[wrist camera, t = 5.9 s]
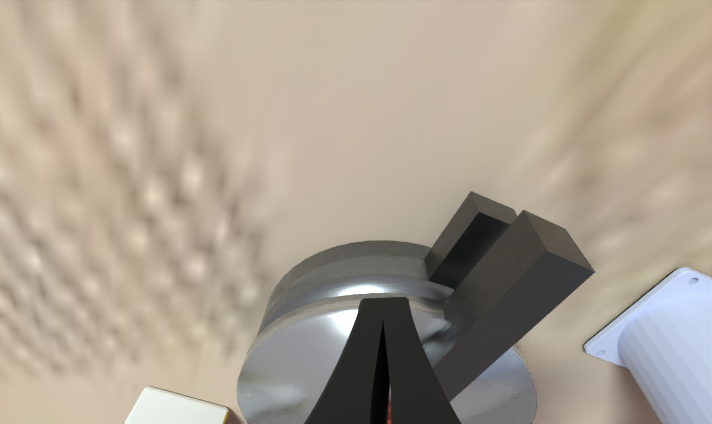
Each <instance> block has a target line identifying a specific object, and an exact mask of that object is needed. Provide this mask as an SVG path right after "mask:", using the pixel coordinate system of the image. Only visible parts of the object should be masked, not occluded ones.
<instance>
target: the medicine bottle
mask: <svg viewBox="0 0 712 424" xmlns="http://www.w3.org/2000/svg"><path fill="white" fill-rule="evenodd" d="M228 413H229V410H228V408H227V407H224V406H220V405H216V404H213V403H209V402H205V401H202V400H198V399H194V398H191V397H187V396H183V395H180V394H176V393H172V392H169V391H165V390H162V389H158V388H154V387H151V386H148V387H145V389H144V390H143V391H142V393H141V395H140V397H139V398H138V400H137V402H136V404H135V405H134V407H133V409H132V411H131V412H130V414H129V416H128V418H127V419H126V421H125V423H124V424H225V422H226V419H227V416H228Z"/></svg>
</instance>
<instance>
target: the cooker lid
mask: <svg viewBox="0 0 712 424" xmlns="http://www.w3.org/2000/svg"><path fill="white" fill-rule="evenodd" d="M593 273H595V271H594V270H593V268H592V267H591V265H590V264H589V262H588V261H587V259H586V258H585V257H584V255H583V254H582V252H581V251H580V249H579V248H578V246H577V245H576V244H575V242H574V241H573V239H572V238H571V236H570V235H569V233H568V232H567V231H566V229H564V228H562V227H560V226H558V225H555V224H553V223H551V222H549V221H547V220H545V219H542V218H540V217H538V216H536V215H534V214H532V213H529V212H527V211H525V210H523V211H522V212H521V213H520V214H519V216H518V217H517V218H516V219H515V220H514V221H513V223H512V224H511V225H510V226H509V227H508V228H507V230H506V231H505V232H504V233H503V234H502V235H501V237H500V238H499V239H498V240H497V241H496V242H495V244H494V245H493V246H492V247H491V248H490V249H489V251H488V252H487V253H486V254H485V255H484V256H483V258H482V259H481V260H480V261H479V262H478V263H477V265H476V266H475V267H474V268H473V269H472V270H471V271H470V273H469V274H468V275H467V276H466V277H465V278H464V280H463V281H462V282H461V283H460V284H459V285H458V287H457V288H456V289H455V290H454V291H453V292H452V294H451V295H450V296H449V297H448V298H447V299H446V301H445V302H442V301H439V300H434V299H430V298H425V297H421V296H414V295H406V294H398V293H361V294H349V295H343V296H337V297H331V298H327V299H323V300H320V301H316V302H312V303H309V304H307V305H304V306H302V307H299V308H297V309H294V310H292V311H290V312H288V313H287V314H285V315H283V316H281V317H280V318H278V319H276V320H275V321H274V322H272V323H271V324H270V325H269V326H267V327H266V328H265V329H264V330H263V331H262V332H261V333H260V334H259V335H258V336H257V338H256V339H255V340H254V342H253V343H252V345H251V347H250V348H249V350H248V353H247V356H246V358H245V361H244V364H243V367H242V370H241V372H240V375H239V378H238V382H237V399H238V404H239V407H240V409H241V412H242V414H243V416H244V418H245V419H246V421H247V423H248V424H304V423H305V421H306V420H307V418H308V416H309V415H310V413H311V411H312V410H313V408H314V406H315V405H316V403H317V401H318V399H319V397H320V396H321V394H322V392H323V390H324V388H325V386H326V384H327V382H328V380H329V378H330V376H331V374H332V372H333V370H334V368H335V366H336V364H337V362H338V360H339V358H340V356H341V353H342V351H343V349H344V346H345V344H346V342H347V340H348V337H349V334H350V332H351V329H352V327H353V324H354V321H355V318H356V315H357V312H358V308H359V304H360V301H361V300H362V299H364V298H387V297H406V298H407V299H409V304H410V309H411V313H412V317H413V320H414V324H415V327H416V330H417V332H418V335H419V338H420V341H421V343H422V346H423V348H424V350H425V353H426V355H427V357H428V360H429V362H430V364H431V366H432V369H433V371H434V373H435V375H436V377H437V379H438V381H439V383H440V385H441V387H442V389H443V391H444V393H445V395H446V397H447V399H448V400H449V402H450V404H451V406H452V408H453V410H454V411H455V413H456V415H457V417H458V418H459V420H460V422H461V423H462V424H532V422H533V420H534V418H535V414H536V408H537V397H536V391H535V388H534V385H533V382H532V379H531V376H530V373H529V370H528V368H527V365H526V362H525V359H524V358H523V356H522V354H521V353H520V351H519V349H518V348H517V346H516V345H515V343H516V342H518V341H519V340H520V339H521V338H522V337H523V336H524V335H525V334H526V333H528V332H529V331H530V330H531V329H532V328H533V327H534V326H535V325H537V324H538V323H539V322H540V321H541V320H542V319H543V318H544V317H545V316H547V315H548V314H549V313H550V312H551V311H552V310H553V309H554V308H556V307H557V306H558V305H559V304H560V303H561V302H562V301H563V300H564V299H566V298H567V297H568V296H569V295H570V294H571V293H572V292H573V291H574V290H576V289H577V288H578V287H579V286H580V285H581V284H582V283H583V282H585V281H586V280H587V279H588V278H589V277H590V276H591V275H592V274H593ZM387 424H391V390H390V392H389V408H388V423H387Z"/></svg>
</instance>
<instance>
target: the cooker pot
mask: <svg viewBox="0 0 712 424" xmlns="http://www.w3.org/2000/svg"><path fill="white" fill-rule="evenodd" d="M517 217H518V216H517V215H516V213H515V211H514V209H512V208H509V207H507V206H505V205H502V204H500V203H498V202H495V201H493V200H490V199H488V198H486V197H483V196H481V195H479V194H476V193H474V192H472V191H471V192H470V194H469V195H468V196H467V198H466V199H465V201H464V202H463V204H462V205H461V206H460V208H459V209H458V211H457V212H456V214H455V215H454V217H453V218H452V219H451V221H450V222H449V224H448V225H447V227H446V228H445V229H444V231H443V232H442V234H441V235H440V237H439V238H438V240H437V241H436V242H435V244H434V245H433V247H432V248H430V247H427V246H423V245H418V244H413V243H408V242H398V241H364V242H356V243H350V244H345V245H341V246H336V247H333V248H331V249H328V250H325V251H322V252H319V253H317V254H315V255H313V256H311V257H309V258H307V259H305V260H304V261H302V262H301V263H299V264H298V265H296V266H295V267H294V268H293V269H291V270H290V271H289V272H288V273H287V274H286V275H285V276H284V277H283V278H282V279H281V281H280V282H279V283H278V284H277V286H276V287H275V289H274V291H273V293H272V295H271V297H270V300H269V303H268V306H267V309H266V311H265V314H264V317H263V320H262V323H261V326H260V329H259V332H258V334H257V336H258V335H259V334H260V333H261V332H262V331H263V330H264V329H265V328H266V327H267V326H269V325H270V324H271V323H272V322H274V321H275V320H276V319H278V318H280V317H281V316H283V315H285V314H287V313H288V312H290V311H292V310H294V309H297V308H299V307H302V306H304V305H307V304H309V303H312V302H316V301H320V300H323V299H327V298H331V297H337V296H343V295H349V294H361V293H398V294H406V295H414V296H421V297H425V298H430V299H434V300H439V301H442V302H445V301H446V299H447V298H448V297H449V296H450V295H451V294H452V292H453V291H454V290H455V289H456V288H457V287H458V285H459V284H460V283H461V282H462V281H463V280H464V278H465V277H466V276H467V275H468V274H469V273H470V271H471V270H472V269H473V268H474V267H475V266H476V265H477V263H478V262H479V261H480V260H481V259H482V258H483V256H484V255H485V254H486V253H487V252H488V251H489V249H490V248H491V247H492V246H493V245H494V244H495V242H496V241H497V240H498V239H499V238H500V237H501V235H502V234H503V233H504V232H505V231H506V230H507V228H508V227H509V226H510V225H511V224H512V223H513V221H514V220H515V219H516V218H517ZM256 338H257V337H256Z"/></svg>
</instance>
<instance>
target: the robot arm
mask: <svg viewBox="0 0 712 424" xmlns="http://www.w3.org/2000/svg"><path fill="white" fill-rule="evenodd" d="M584 349H585V351H586V353H587V354H589V355H592V356H595V357H597V358H600V359H603V360H606V361H608V362H611V363H614V364H617V365H619V366H622V367H625V368H628V369H629V370H630V372H631V374H632V375H633V377H634V378H635V380H636V382H637V383H638V385H639V387H640V388H641V390H642V392H643V393H644V395H645V397H646V398H647V400H648V401H649V403H650V405H651V406H652V408H653V410H654V411H655V413H656V415H657V416H658V418H659V420H660V421H661V423H662V424H712V277H709V276H707V275H705V274H702V273H700V272H698V271H695V270H693V269H691V268H687V267H683V268H679V269H677V270H675V271H674V272H673V273H672V274H670V275H669V276H668V277H667V278H665V279H664V280H663V281H662V282H660V283H659V284H658V285H657V286H656V287H654V288H653V289H652V290H651V291H649V292H648V293H647V294H646V295H645V296H643V297H642V298H641V299H640V300H638V301H637V302H636V303H635V304H634V305H632V306H631V307H630V308H629V309H627V310H626V311H625V312H624V313H622V314H621V315H620V316H619V317H618V318H616V319H615V320H614V321H613V322H611V323H610V324H609V325H608V326H607V327H605V328H604V329H603V330H602V331H600V332H599V333H598V334H597V335H596V336H594V337H593V338H592V339H591V340H589V341H588V342H587V343H586V344H585V345H584ZM390 390H391V424H462V423H461V422H460V420H459V418H458V417H457V415H456V413H455V411H454V410H453V408H452V406H451V404H450V402H449V400H448V399H447V397H446V395H445V393H444V391H443V389H442V387H441V385H440V383H439V381H438V379H437V377H436V375H435V373H434V371H433V369H432V366H431V364H430V362H429V360H428V357H427V355H426V353H425V350H424V348H423V346H422V343H421V341H420V338H419V335H418V332H417V330H416V327H415V324H414V320H413V317H412V313H411V309H410V304H409V299H407V298H406V297H387V298H364V299H362V300H361V301H360V304H359V308H358V312H357V315H356V318H355V321H354V324H353V327H352V329H351V332H350V334H349V337H348V340H347V342H346V344H345V346H344V349H343V351H342V353H341V356H340V358H339V360H338V362H337V364H336V366H335V368H334V370H333V372H332V374H331V376H330V378H329V380H328V382H327V384H326V386H325V388H324V390H323V392H322V394H321V396H320V397H319V399H318V401H317V403H316V405H315V406H314V408H313V410H312V411H311V413H310V415H309V416H308V418H307V420H306V421H305V423H304V424H387V423H388V408H389V392H390Z"/></svg>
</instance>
